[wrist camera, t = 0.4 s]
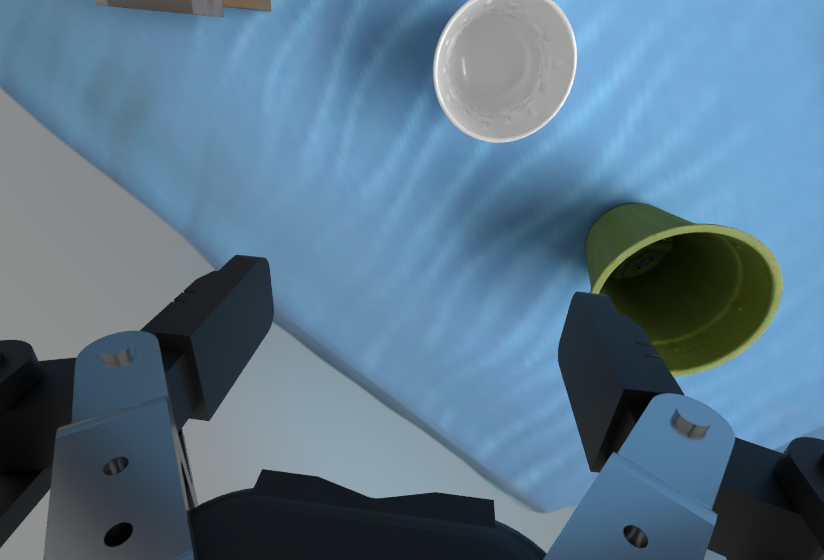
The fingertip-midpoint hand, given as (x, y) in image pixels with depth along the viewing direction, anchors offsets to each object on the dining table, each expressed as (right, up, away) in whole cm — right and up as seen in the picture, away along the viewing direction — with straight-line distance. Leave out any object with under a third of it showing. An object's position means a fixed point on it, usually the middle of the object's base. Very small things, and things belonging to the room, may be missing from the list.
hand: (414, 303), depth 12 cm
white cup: (+6, +17, +22) cm, 28 cm away
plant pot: (+19, +4, +27) cm, 33 cm away
